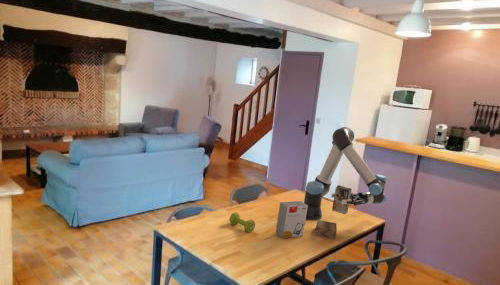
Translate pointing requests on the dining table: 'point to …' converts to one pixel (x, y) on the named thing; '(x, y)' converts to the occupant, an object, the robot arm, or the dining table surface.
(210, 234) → the dining table surface
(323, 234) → the walnut block
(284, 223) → the hard drive box
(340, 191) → the coffee box
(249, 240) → the dining table surface
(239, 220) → the dumbbell
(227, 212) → the dining table surface
